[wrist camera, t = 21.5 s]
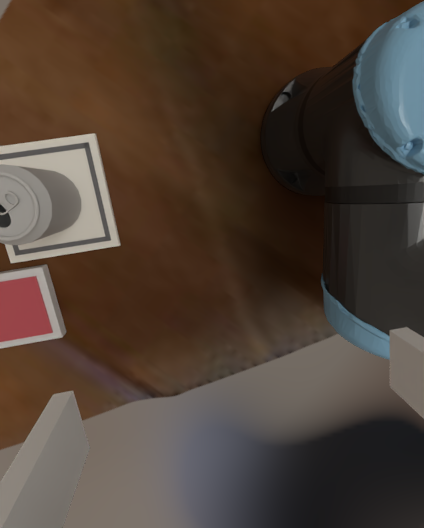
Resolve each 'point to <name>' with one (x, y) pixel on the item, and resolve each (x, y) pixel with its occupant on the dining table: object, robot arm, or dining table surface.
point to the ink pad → (28, 307)
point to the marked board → (90, 189)
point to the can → (35, 204)
